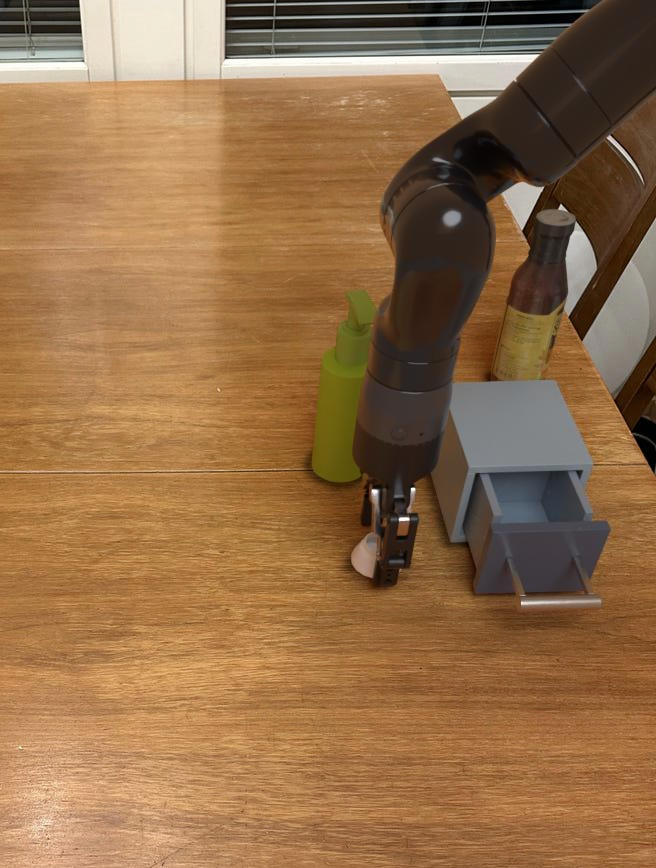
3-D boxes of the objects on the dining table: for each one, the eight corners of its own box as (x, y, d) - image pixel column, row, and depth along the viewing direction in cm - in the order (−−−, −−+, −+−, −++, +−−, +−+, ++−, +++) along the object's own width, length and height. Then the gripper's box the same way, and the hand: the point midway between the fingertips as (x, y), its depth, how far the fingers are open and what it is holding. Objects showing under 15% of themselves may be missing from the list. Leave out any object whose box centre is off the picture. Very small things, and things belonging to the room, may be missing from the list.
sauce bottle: (548, 399, 113) (598, 232, 98) (494, 400, 113) (536, 234, 99) (533, 367, 118) (580, 203, 103) (481, 369, 118) (520, 205, 103)
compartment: (605, 640, 88) (634, 579, 82) (489, 643, 88) (509, 582, 82) (550, 503, 100) (571, 441, 94) (449, 506, 100) (463, 444, 94)
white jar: (360, 540, 98) (343, 572, 96) (363, 518, 96) (346, 550, 93) (408, 554, 97) (393, 587, 94) (413, 532, 95) (397, 565, 92)
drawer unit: (566, 539, 98) (594, 463, 91) (450, 543, 98) (468, 466, 91) (532, 454, 107) (555, 379, 100) (425, 457, 107) (441, 382, 100)
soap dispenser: (321, 492, 104) (340, 321, 89) (305, 452, 108) (320, 283, 93) (375, 485, 104) (402, 314, 89) (357, 445, 109) (380, 277, 94)
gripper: (463, 466, 78) (429, 605, 90) (430, 365, 88) (403, 504, 100) (369, 468, 78) (347, 607, 90) (347, 368, 88) (330, 506, 100)
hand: (377, 553), depth 95 cm, fingers open, 8 cm apart
